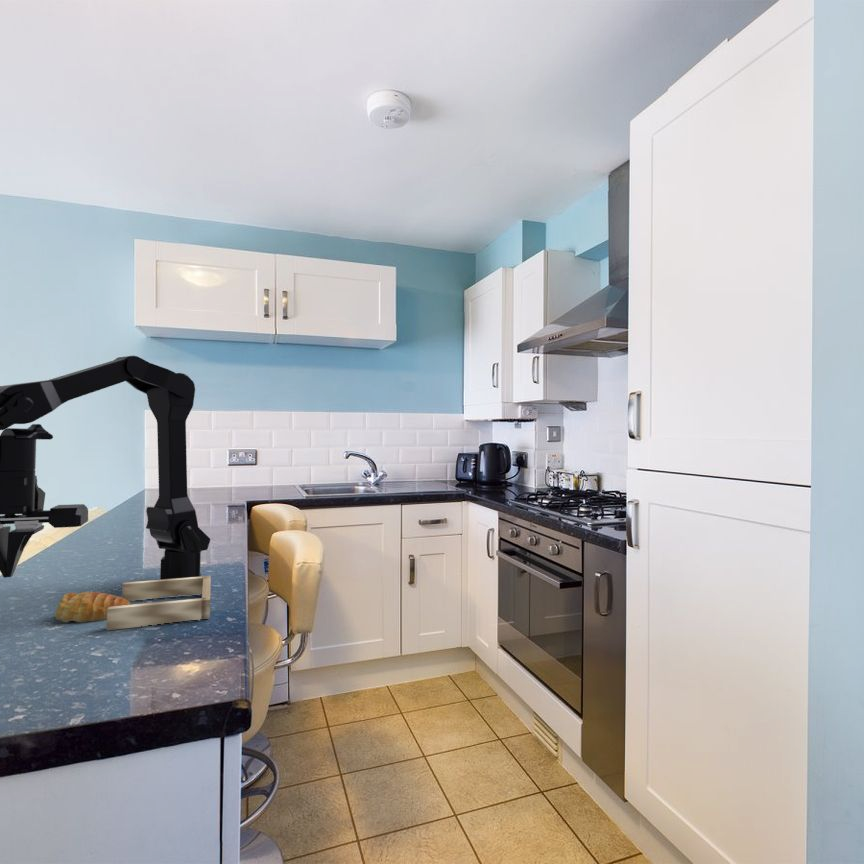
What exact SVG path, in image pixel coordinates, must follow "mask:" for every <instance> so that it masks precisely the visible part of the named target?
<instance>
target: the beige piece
mask: <svg viewBox="0 0 864 864" xmlns="http://www.w3.org/2000/svg"><path fill="white" fill-rule="evenodd" d="M211 577H212V576H211V575H205V576H204V575H203V576H202V575H201V577H189V578H176V579H163V580H160V579H154V580H153V579H152V580H141V581H140V580H139V581H137V580H136V581H127V582H126V581H125V582H124V581H123V583H122V590H121V591H122V593H121V594H122V595H121V597H122V598H124V599H126V600H128V601H132V602H136V601H135V600H143V601H146V600H145V599H152V598H160V597H169V596H178V595H193V594H202V595H201V598H199V597H198V598H192V599H191V598H190V599H180V600H167V601H158V602H157V601H156V602H148V603H147V602H145V603H136V604H135V603H133V604H130V605H123V606H112V607H108V609H107V620H106V631H113V630H120V629H121V630H122V629H130V628H141V626H142V627H149V626H148V625H152V626H158V625H157V624H161V625H165V624H164V623H170V624H173V623H172V622H178V621H188V620H198V621H201V620H200V619H208V620H210V619H211V617H210V616H211V582H212V581H211V579H212V578H211Z"/></svg>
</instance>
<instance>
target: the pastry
mask: <svg viewBox="0 0 864 864" xmlns="http://www.w3.org/2000/svg"><path fill="white" fill-rule="evenodd" d="M123 605H131V602H129V601H128V600H126V599H124V598H122V596H118V595H113V594H109V593H104V592H102V593H101V592H100V591H95V590H94V591H92V592H89V591H83V592H81V593H75V592H67V593H65V594H63V595H62V598H61V599H60V600H59V603H58V605H57V607H56V610H55V615H54V618H56V620H57V621H60V622H62V623H70V622H71V621H73V622H76V623H87V622H98V620H99V621H107V609H108V607H112V606H123Z"/></svg>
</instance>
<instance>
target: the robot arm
mask: <svg viewBox="0 0 864 864" xmlns="http://www.w3.org/2000/svg"><path fill="white" fill-rule="evenodd" d="M123 382H126V383H127V384H129V385H131V386H132V387H133V388H134V389H135V390H137V391H139V392H142V393H143V394H146V398H147V402H148V407H149V409H150V410H151V412H152V415H153V416H154V418H155V420H156V423H157V424H156V425H157V426H156V427H157V428H156V429H157V433H156V434H157V461H158V463H157V468H158V470H157V472H158V498H157V500H156V502H155V504H154V506H147V507H146V515H147V523H146V527H145V529H146V530H147V529H148V530H149V534H150V536H151V537H152V538H153V539H154V540H156V541H155V542H156V544H157V546H158V549H163V550H164V551H163V552H164V553H163V554H164V555H163V556H162V557H161V559H160V574H159V575H160V577H159V580H163V579H176V578H189V577H202V573H201V565H202V563H201V562H202V561H201V558H202V551H207V550H208V548H209V545H210V543H211V538H210V537H209V535H207V534H206V533H205V532H204V531H203V530H202V529H201V528H200V527H199V523H198V522H199V521H198V518H197V517H198V516H197V511H196V509H195V507H194V505H193V504H192V502H191V500H190V498H189V495H188V464H187V463H188V462H187V461H188V459H187V426H186V425H187V419H188V417H189V415H190V413H191V411H192V409H193V407H194V402H195V394H196V385H195V382H194V380H192V379H191V378H190V376H189V375H187V374H185V373H182V372H174V370H173V371H172V370H170V369H169V368H165V367H163V366H159V365H157V364H154V363H151V362H149V361H147V360H145V359H143V358H141V357H139V356H137V355H126V356H120V357H116V358H115V359H114V360H111V361H107V362H104V363H101V364H97V365H93V366H91V367H90V366H89V367H87V368H84V369H80V370H76V371H75V372H74V371H73V372H70V373H66V374H64V375H60V376H56V377H54V378H50V379H48V380H47V379H46V380H39V381H30V382H21V383H15V384H14V383H13V384H7V385H0V431H1V433H0V573H1V575H2V577H3V578H5V579H6V578H12V576H13V575H14V573H15V571H16V568H17V566H18V564H19V561H20V559H21V556H22V554H23V552H24V550H25V548H26V546H27V545H28V543H29V541H30V539H31V538H32V536H33V535H35V534H37V533H39V532H40V531H42V530H44V528H45V525H44V523H47V524H49V525H51V526H52V527H53V528H54V529H60V528H78V527H81V526H83V525H84V524H86V523H87V522H89V507H87V506H86V505H85V504H84V503H81V504H79V503H78V504H76V503H75V504H57V505H55V506H52V507H51V508H50V509H48V510H44V507H45V500H46V492H45V491H44V490H43V489H42V488H41V487H39V485H38V478H37V475H36V467H37V466H36V459H37V456H36V455H37V440H53V438H54V436H53V435H54V434H51V433H50V432H49V431H47V430H46V429H45V428H44V427H43V426H42V424H40V423H34V422H35V421H38V420H39V419H41V418H42V417H45V416H46V415H48V414H50V413H51V412H54V411H55V410H56V409H58V407H60V406H62V405H63V404H66V403H67V402H69V401H71V400H74V399H77V398H80V397H83V396H86V395H88V394H91V393H94V392H98V391H100V390H103V389H104V390H105V389H107V388H109V387H112V386H115V385H117V384H121V383H123ZM30 423H32V424H31V425H30V426H29V427H28V428H19V427H18V428H15V427H14V428H13V427H12V426H14V425H26V424H30ZM5 525H14V527H15V529H13V530H11V526H5Z"/></svg>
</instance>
